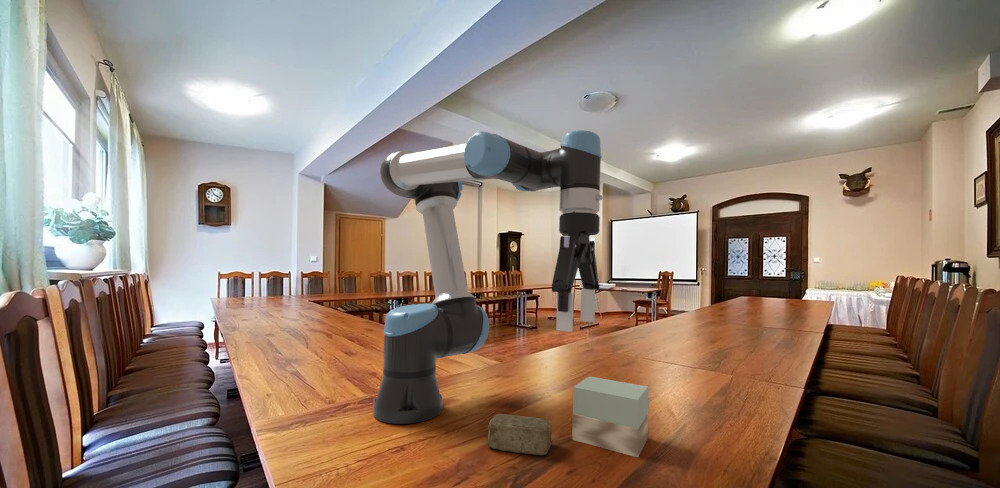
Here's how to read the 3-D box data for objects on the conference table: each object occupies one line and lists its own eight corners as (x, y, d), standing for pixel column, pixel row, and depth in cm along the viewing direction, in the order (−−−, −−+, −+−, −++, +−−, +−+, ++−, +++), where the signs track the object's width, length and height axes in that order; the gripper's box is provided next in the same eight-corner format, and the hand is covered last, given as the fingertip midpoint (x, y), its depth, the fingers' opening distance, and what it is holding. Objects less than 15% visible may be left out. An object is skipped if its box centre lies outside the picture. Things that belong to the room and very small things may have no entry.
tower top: (573, 413, 71) (573, 387, 71) (589, 400, 78) (589, 376, 79) (638, 429, 64) (637, 399, 65) (648, 412, 72) (648, 386, 72)
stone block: (549, 459, 63) (549, 429, 63) (484, 451, 66) (485, 422, 66) (552, 444, 69) (552, 416, 69) (492, 437, 71) (492, 410, 72)
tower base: (572, 441, 70) (572, 414, 71) (587, 424, 78) (587, 400, 78) (638, 459, 64) (637, 429, 64) (648, 439, 72) (647, 413, 72)
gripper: (577, 202, 58) (574, 338, 57) (614, 220, 80) (612, 320, 78) (534, 204, 62) (530, 332, 61) (580, 221, 83) (578, 316, 82)
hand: (576, 325), depth 70 cm, fingers open, 13 cm apart
